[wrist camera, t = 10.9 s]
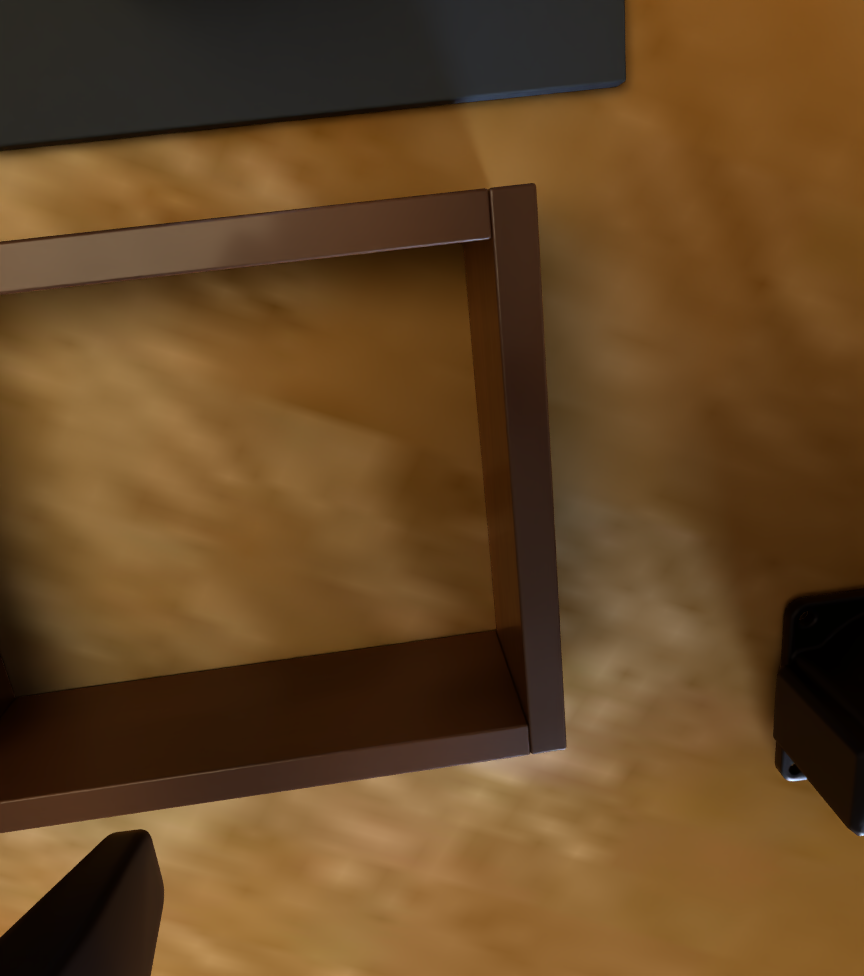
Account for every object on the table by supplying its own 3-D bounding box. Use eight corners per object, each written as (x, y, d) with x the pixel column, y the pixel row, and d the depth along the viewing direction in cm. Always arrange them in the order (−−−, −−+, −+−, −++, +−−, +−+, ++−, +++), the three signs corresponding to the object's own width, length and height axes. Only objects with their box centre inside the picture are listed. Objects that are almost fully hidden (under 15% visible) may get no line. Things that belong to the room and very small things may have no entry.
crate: (495, 196, 18) (536, 182, 13) (527, 651, 22) (567, 750, 18) (-174, 270, 17) (-355, 280, 13) (-7, 727, 21) (-101, 849, 17)
